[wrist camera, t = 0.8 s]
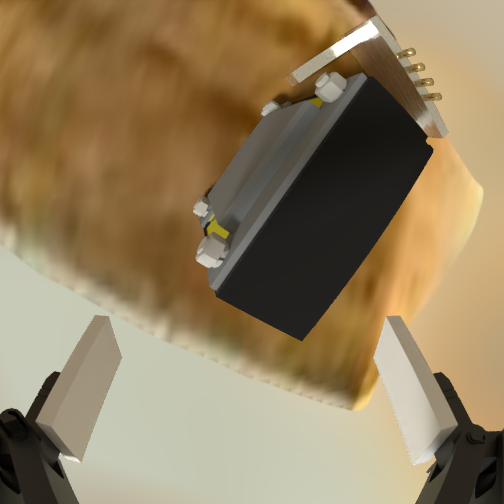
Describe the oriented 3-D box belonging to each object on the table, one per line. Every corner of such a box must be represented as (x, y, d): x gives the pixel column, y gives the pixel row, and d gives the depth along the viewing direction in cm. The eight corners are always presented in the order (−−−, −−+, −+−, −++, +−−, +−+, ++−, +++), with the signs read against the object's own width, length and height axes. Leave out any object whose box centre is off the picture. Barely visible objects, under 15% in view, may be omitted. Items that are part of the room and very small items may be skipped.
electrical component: (270, 95, 35) (347, 53, 16) (333, 145, 38) (441, 153, 20) (187, 213, 38) (186, 279, 19) (255, 255, 41) (308, 344, 22)
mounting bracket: (281, 74, 34) (312, 53, 24) (346, 32, 33) (388, 9, 24) (357, 179, 40) (403, 190, 31) (411, 131, 39) (461, 133, 30)
